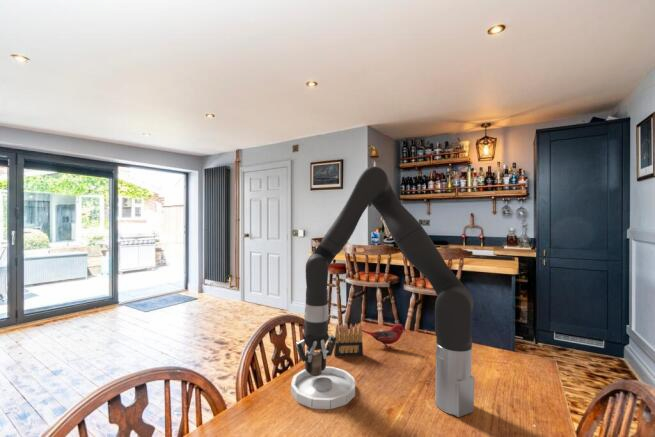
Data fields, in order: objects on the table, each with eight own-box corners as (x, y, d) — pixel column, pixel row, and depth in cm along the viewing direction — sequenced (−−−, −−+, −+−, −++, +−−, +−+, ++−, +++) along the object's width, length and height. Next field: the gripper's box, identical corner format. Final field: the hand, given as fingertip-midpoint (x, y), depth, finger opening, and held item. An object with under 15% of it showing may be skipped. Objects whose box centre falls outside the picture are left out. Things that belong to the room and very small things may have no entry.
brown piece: (323, 374, 101) (324, 355, 101) (312, 377, 99) (312, 358, 99) (318, 368, 105) (318, 350, 105) (307, 371, 103) (307, 352, 103)
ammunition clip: (361, 353, 122) (362, 322, 122) (362, 355, 121) (363, 324, 120) (334, 354, 121) (334, 323, 121) (334, 356, 119) (335, 324, 119)
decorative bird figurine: (405, 351, 125) (406, 325, 125) (360, 346, 128) (360, 321, 128) (405, 348, 128) (406, 323, 128) (361, 343, 131) (361, 319, 131)
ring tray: (367, 398, 93) (367, 389, 93) (306, 416, 84) (307, 406, 84) (335, 369, 110) (335, 361, 110) (283, 381, 101) (283, 374, 101)
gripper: (300, 324, 95) (299, 381, 95) (341, 317, 102) (340, 371, 102) (291, 316, 102) (290, 370, 102) (330, 311, 108) (330, 361, 109)
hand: (315, 370), depth 102 cm, fingers closed on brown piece, 4 cm apart
